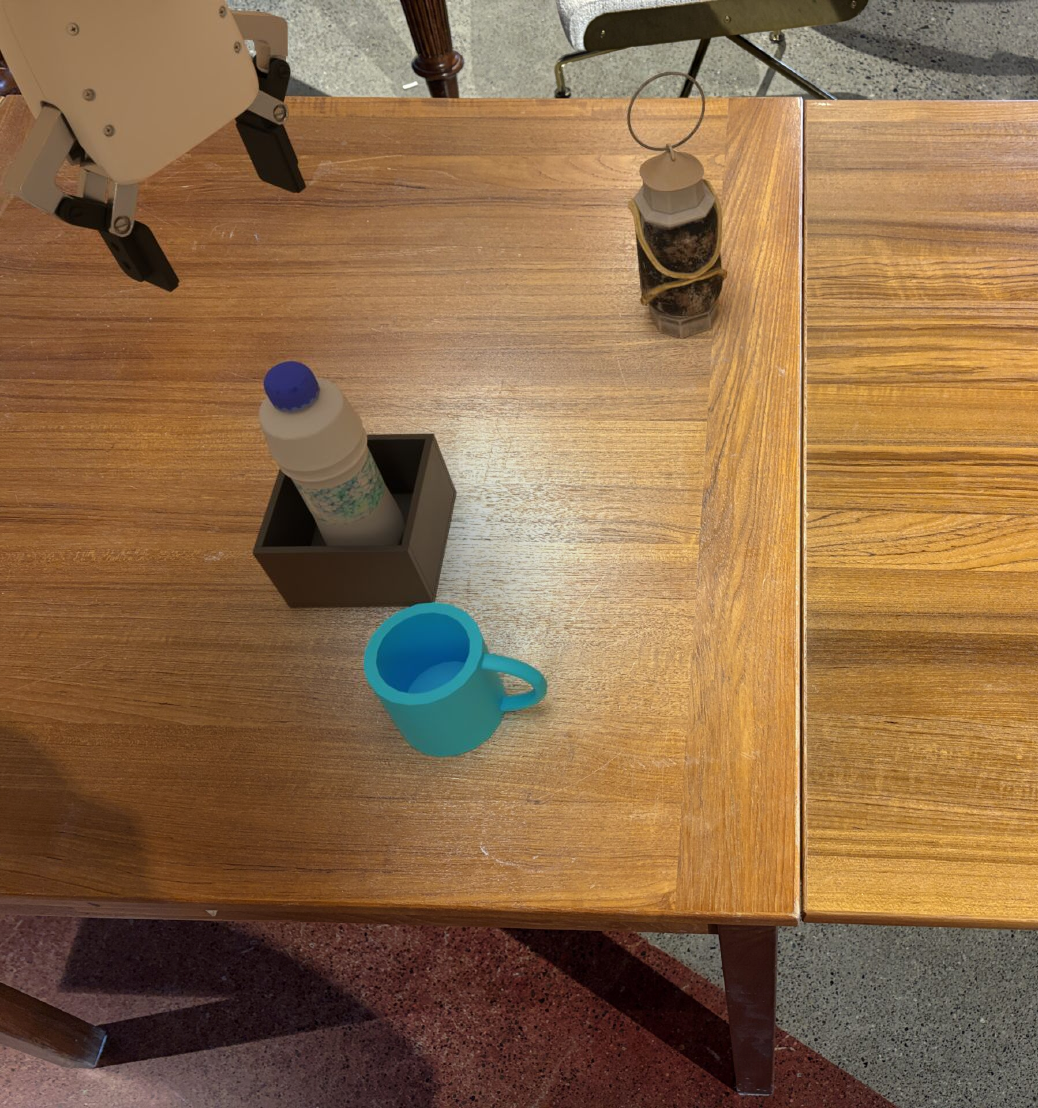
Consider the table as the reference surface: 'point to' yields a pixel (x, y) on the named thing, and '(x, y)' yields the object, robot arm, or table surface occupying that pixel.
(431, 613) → the mug
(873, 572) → the table surface
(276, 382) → the bottle
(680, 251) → the lantern
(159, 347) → the table surface
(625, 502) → the table surface
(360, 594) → the bin
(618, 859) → the table surface
